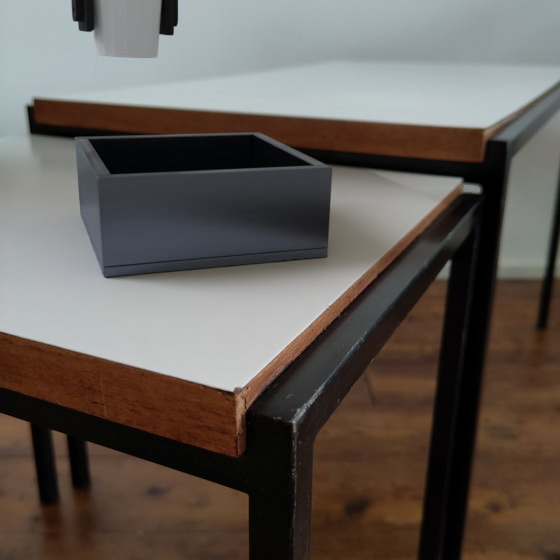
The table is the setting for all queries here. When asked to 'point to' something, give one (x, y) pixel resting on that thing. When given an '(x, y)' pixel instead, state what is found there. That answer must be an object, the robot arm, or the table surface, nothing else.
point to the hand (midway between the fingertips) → (126, 31)
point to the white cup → (127, 28)
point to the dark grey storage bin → (200, 201)
